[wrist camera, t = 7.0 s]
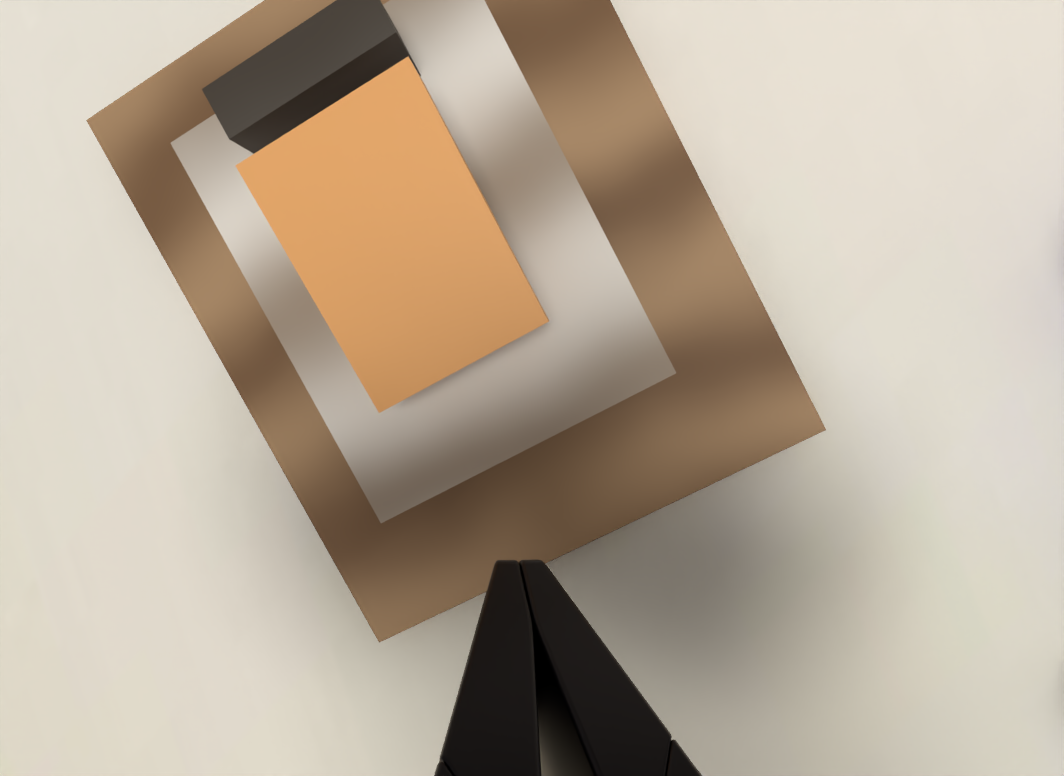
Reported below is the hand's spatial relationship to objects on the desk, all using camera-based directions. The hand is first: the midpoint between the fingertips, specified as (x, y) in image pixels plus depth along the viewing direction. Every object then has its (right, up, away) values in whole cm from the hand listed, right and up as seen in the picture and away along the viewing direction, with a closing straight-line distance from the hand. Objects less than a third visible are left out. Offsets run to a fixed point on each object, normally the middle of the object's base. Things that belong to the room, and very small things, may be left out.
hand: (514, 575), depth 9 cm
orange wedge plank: (-3, +7, +5) cm, 9 cm away
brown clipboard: (-3, +8, +10) cm, 13 cm away
